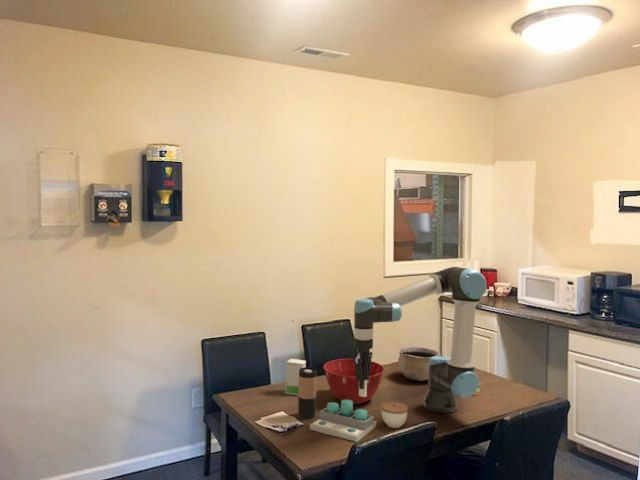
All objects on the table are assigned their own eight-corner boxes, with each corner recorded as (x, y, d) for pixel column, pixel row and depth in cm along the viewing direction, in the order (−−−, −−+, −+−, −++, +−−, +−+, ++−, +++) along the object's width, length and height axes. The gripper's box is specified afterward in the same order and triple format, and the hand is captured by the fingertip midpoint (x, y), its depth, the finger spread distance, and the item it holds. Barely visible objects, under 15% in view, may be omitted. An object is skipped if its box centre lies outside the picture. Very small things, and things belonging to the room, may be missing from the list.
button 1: (368, 422, 215) (369, 410, 215) (363, 426, 211) (364, 414, 211) (358, 419, 218) (358, 407, 217) (352, 423, 213) (353, 411, 213)
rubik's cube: (479, 395, 260) (479, 384, 260) (469, 396, 258) (470, 385, 258) (472, 391, 265) (472, 380, 265) (462, 392, 263) (463, 381, 263)
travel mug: (305, 411, 232) (307, 366, 232) (319, 415, 228) (320, 369, 227) (294, 416, 227) (295, 369, 226) (307, 420, 222) (308, 373, 221)
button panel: (376, 426, 218) (376, 414, 218) (356, 441, 202) (357, 429, 202) (331, 415, 228) (331, 403, 228) (309, 429, 213) (310, 417, 213)
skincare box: (284, 394, 254) (285, 361, 253) (288, 389, 260) (289, 358, 260) (301, 395, 252) (302, 363, 251) (305, 391, 258) (306, 359, 258)
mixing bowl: (380, 413, 233) (381, 378, 232) (316, 406, 239) (317, 372, 238) (385, 392, 261) (386, 361, 260) (328, 387, 266) (329, 356, 266)
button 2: (354, 413, 218) (354, 401, 218) (349, 416, 214) (349, 404, 214) (344, 410, 221) (344, 398, 220) (338, 414, 216) (339, 402, 216)
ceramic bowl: (392, 373, 292) (393, 346, 292) (429, 372, 296) (430, 345, 296) (405, 386, 271) (406, 357, 270) (446, 385, 275) (447, 356, 274)
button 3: (340, 415, 222) (340, 403, 221) (334, 419, 217) (335, 407, 217) (330, 413, 224) (330, 401, 224) (324, 416, 220) (325, 404, 220)
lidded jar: (404, 420, 226) (405, 398, 225) (409, 430, 215) (410, 407, 214) (379, 419, 225) (379, 397, 225) (383, 430, 214) (383, 407, 214)
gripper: (362, 333, 220) (361, 389, 221) (347, 340, 209) (347, 399, 210) (378, 335, 216) (377, 392, 218) (365, 342, 205) (364, 402, 206)
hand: (362, 395), depth 214 cm, fingers closed
